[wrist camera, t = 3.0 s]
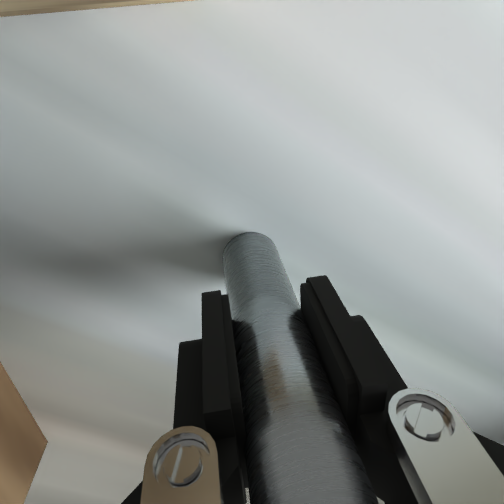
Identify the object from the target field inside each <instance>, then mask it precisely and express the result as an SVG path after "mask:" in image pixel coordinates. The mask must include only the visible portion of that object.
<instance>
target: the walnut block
mask: <svg viewBox="0 0 504 504" xmlns="http://www.w3.org/2000/svg"><path fill="white" fill-rule="evenodd" d="M46 445H47V440H46V438H45V436H44V435H43V433H42V431H41V430H40V428H39V426H38V425H37V423H36V421H35V420H34V418H33V416H32V415H31V413H30V411H29V409H28V408H27V406H26V404H25V403H24V401H23V399H22V398H21V396H20V394H19V393H18V391H17V389H16V387H15V386H14V384H13V382H12V381H11V379H10V377H9V376H8V374H7V372H6V371H5V369H4V367H3V365H2V364H1V362H0V504H23V503H24V501H25V498H26V496H27V493H28V491H29V488H30V486H31V483H32V481H33V478H34V475H35V473H36V470H37V468H38V465H39V463H40V460H41V458H42V455H43V453H44V450H45V447H46Z"/></svg>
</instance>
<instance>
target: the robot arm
mask: <svg viewBox="0 0 504 504" xmlns="http://www.w3.org/2000/svg"><path fill="white" fill-rule="evenodd" d="M300 294H301V311H302V314H303V316H304V319H305V321H306V324H307V326H308V329H309V331H310V334H311V336H312V339H313V341H314V344H315V346H316V349H317V351H318V354H319V356H320V359H321V361H322V364H323V366H324V369H325V371H326V374H327V376H328V379H329V381H330V384H331V386H332V389H333V391H334V394H335V396H336V399H337V401H338V404H339V406H340V409H341V411H342V414H343V416H344V419H345V421H346V424H347V426H348V428H349V430H350V433H351V435H352V438H353V440H354V443H355V445H356V448H357V450H358V453H359V455H360V458H361V460H362V463H363V465H364V468H365V470H366V473H367V475H368V478H369V480H370V483H371V485H372V488H373V490H374V493H375V495H376V498H377V500H378V503H379V504H504V446H503V445H501V444H498V443H496V442H494V441H492V440H490V439H488V438H485V437H483V436H481V435H479V434H477V433H475V432H473V431H471V429H470V428H469V426H468V425H467V423H466V422H465V421H464V419H463V418H462V416H461V415H460V414H459V412H458V411H457V410H456V409H455V407H454V406H453V405H452V404H451V403H450V402H449V401H447V400H446V399H444V398H443V397H442V396H440V395H438V394H436V393H434V392H431V391H429V390H424V389H420V388H408V387H407V386H406V384H405V383H404V381H403V380H402V378H401V376H400V375H399V373H398V372H397V370H396V368H395V367H394V365H393V364H392V362H391V360H390V359H389V357H388V356H387V354H386V352H385V351H384V349H383V348H382V346H381V344H380V343H379V341H378V340H377V338H376V337H375V335H374V333H373V332H372V330H371V329H370V327H369V325H368V324H367V322H366V321H365V319H364V318H363V317H362V316H360V315H357V316H350V315H349V313H348V312H347V310H346V308H345V306H344V305H343V303H342V301H341V300H340V298H339V296H338V294H337V293H336V291H335V289H334V287H333V286H332V284H331V282H330V281H329V279H328V277H327V276H326V275H324V276H317V277H310V278H307V280H306V283H302V284H301V286H300ZM246 442H247V438H246V430H245V422H244V414H243V406H242V398H241V389H240V381H239V373H238V365H237V357H236V349H235V341H234V333H233V325H232V317H231V310H230V303H229V296H228V294H226V295H221V291H220V290H219V291H211V292H204V293H202V339H199V340H192V341H185V342H180V344H179V353H178V367H177V381H176V396H175V410H174V424H173V430H171V431H169V432H167V433H166V434H164V435H163V436H161V437H160V438H159V440H158V441H157V442H156V443H155V444H154V445H153V446H152V448H151V450H150V452H149V453H148V455H147V459H146V463H145V467H144V476H143V481H142V482H141V483H140V484H139V485H138V486H137V487H136V488H135V489H134V491H133V492H132V493H131V494H130V495H129V496H128V497H127V498H126V499H125V500H124V501H123V502H122V503H121V504H245V503H247V501H246V492H245V488H249V487H248V478H247V469H246V460H245V445H246Z"/></svg>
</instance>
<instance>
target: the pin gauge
mask: <svg viewBox="0 0 504 504" xmlns="http://www.w3.org/2000/svg"><path fill="white" fill-rule="evenodd" d="M223 267H224V276H225V285H226V294H228V296H229V303H230V310H231V317H232V325H233V333H234V341H235V349H236V357H237V365H238V373H239V381H240V389H241V398H242V406H243V414H244V422H245V430H246V438H247V442H246V445H245V460H246V469H247V478H248V487H249V495H250V504H379V503H378V500H377V498H376V495H375V493H374V490H373V488H372V485H371V483H370V480H369V478H368V475H367V473H366V470H365V468H364V465H363V463H362V460H361V458H360V455H359V453H358V450H357V448H356V445H355V443H354V440H353V438H352V435H351V433H350V430H349V428H348V426H347V424H346V421H345V419H344V416H343V414H342V411H341V409H340V406H339V404H338V401H337V399H336V396H335V394H334V391H333V389H332V386H331V384H330V381H329V379H328V376H327V374H326V371H325V369H324V366H323V364H322V361H321V359H320V356H319V354H318V351H317V349H316V346H315V344H314V341H313V339H312V336H311V334H310V331H309V329H308V326H307V324H306V321H305V319H304V316H303V314H302V311H301V308H300V306H299V303H298V301H297V298H296V296H295V293H294V291H293V288H292V286H291V283H290V281H289V279H288V276H287V274H286V271H285V269H284V266H283V264H282V261H281V259H280V256H279V254H278V251H277V249H276V246H275V244H274V243H273V242H272V240H271V239H269V238H268V237H267V236H265V235H263V234H259V233H244V234H241V235H239V236H237V237H235V238H233V239H232V240H231V241H230V242H229V243H228V244H227V246H226V247H225V249H224V252H223Z"/></svg>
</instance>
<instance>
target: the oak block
mask: <svg viewBox="0 0 504 504" xmlns="http://www.w3.org/2000/svg"><path fill="white" fill-rule="evenodd" d="M181 1H193V0H0V17H5V16H17V15H28V14H40V13H52V12H64V11H75V10H87V9H99V8H111V7H122V6H134V5H146V4H158V3H169V2H181Z"/></svg>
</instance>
